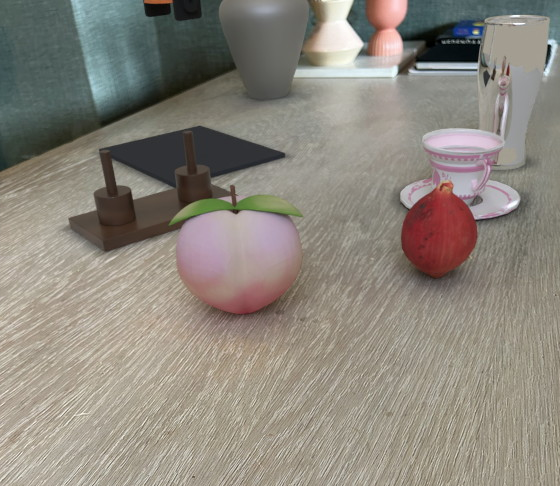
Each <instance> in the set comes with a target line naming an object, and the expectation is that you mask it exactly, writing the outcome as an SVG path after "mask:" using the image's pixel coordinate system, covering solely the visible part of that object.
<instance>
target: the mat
mask: <svg viewBox="0 0 560 486" xmlns="http://www.w3.org/2000/svg"><path fill="white" fill-rule="evenodd" d="M184 131H192V132H193V140H194V148H195V157H196V165H205V166H207V167H209V168H210V176H211V179H212V178H216V177H219V176H223V175H227V174H230V173H234V172H238V171H240V170H245V169H248V168H249V169H250V168H252V167H256V166H259V165H262V164H267V163H270V162H273V161H276V160H281V159H284V158H286V153H285V152H283V151H280V150H277V149H273V148H271V147H267V146H264V145H262V144H258V143H255V142H252V141H249V140H246V139H244V138H239V137H237V136H234V135H230V134H228V133H223V132H221V131H219V130H215V129H212V128H209V127H207V126H203V125H196V126H191V127H187V128H184V129H178V130H174V131H170V132H166V133H161V134H158V135H153V136H148V137H145V138H140V139H135V140H132V141H127V142H123V143H118V144H114V145H110V146H106V147H102V148H101V147H100V148H99V149H98V152H100V151H102V150H110V153H111V158H112V160H114V161H116V162H118V163H120V164H122V165H124V166H126V167H129V168H131V169H133V170H135V171H137V172H140V173H142V174H144V175H146V176H147V177H150V178H153V179H155V180H157V181H159V182H161V183H164V184H165V185H168V186H169V187H173V188H177V186H176V179H175V170H176V169H178V168H180V167H183V166H187V164H186V157H185V149H184V141H183V132H184Z"/></svg>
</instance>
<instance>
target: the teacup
mask: <svg viewBox="0 0 560 486" xmlns="http://www.w3.org/2000/svg"><path fill="white" fill-rule="evenodd" d="M504 144H505V140H504V139H503V138H502V137H501V136H499V135H497V134H494V133H491V132H487V131H482V130H478V129H477V128H476V129H475V128H466V127H465V128H463V127H457V128H453V127H451V128H441V129H435V130H432V131H429V132H427V133H425V134H424V135H423V136H422V138H421V145H422V148H423V150H424V152H425V153H426V154H427V155H428V161H429V163H430V165H431V167H432V175H431V177H429V178H424V179H420V180H416V181H415V182H412V183H410V184H408V185H406V186H405V187H404V188H403V189H402V190H401V191H400V193H399V200H400V203H402V204H403V205H404V207H405V208H406V209H409V210H410V208H411V207H412V206H413V205H414V204H415V203H416V202H417V201H418V200H419V199H421V198H422V197H424V196H425V195H427V194H428V193H430V192H431V191H433V190H434V189H435V188H436V187H437V186H438V184H439V183H441V182H442V181H444V180H450V181H451V182H452V183H453V185H454V187H453V189H452V191H453V193H454V194H455V195H456V196H458V197H459V198H460V199H462V200H463V201H464V202H465V203H466V204H467V206H468V207H469V208H470V210H471V212H472V214H473V216H474V219H475V221H476V220H483V219H484V220H485V219H493V218H496V217H500V216H503V215H507V214H509V213H511V212H513V211H514V210H516V209H517V208H518V207H519V205H520V203H521V200H522V199H521V196H520V194H519V192H518V191H517V190H516V189H515V188H513V187H511V186H510V185H508V184H505V183H502V182H499V181H498V180H492V179H490V176H491V174H492V170H491V164H493V163H494V160H493V157H494V156H495V155H497V154H498V153H499V152H500V151H501V150H502V148H503V146H504ZM476 197H479V198H480V199H481V203H479V204H476V205H473V206H469V205H470V204H472V203H473V201H474V200H475V198H476Z"/></svg>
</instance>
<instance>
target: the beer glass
mask: <svg viewBox="0 0 560 486" xmlns="http://www.w3.org/2000/svg"><path fill="white" fill-rule="evenodd" d="M550 22H551V18H550V17H549V16H544V15H537V14H536V15H535V14H507V15H506V14H505V15H497V16H490V17H486V18H485V19H484V24H483V28H482V29H483V30H482V34H481V39H480V46H479V52H478V59H477V68H476V69H477V71H476V95H477V112H478V115H477V116H478V127H477V128H478V129H477V130H482V131H487V132H491V133H494V134H497V135H499V136H501V137H502V138H503V139H504V140H505V144H504V146H503V148H502V150H501V151H500V152H499V153H498V154H497V155H495V156H494V157H493V160H494V163H493V164H491V171H511V170H515V169H519V168H522V167H523V166H525V164H526V161H527V160H526V159H527V157H526V156H527V153H526V137H527V129H528V125H529V121H530V118H531V116H532V112H533V109H534V106H535V103H536V101H537V97H538V94H539V90H540V87H541V83H542V81H543V76H544V71H545V67H546V60H547V54H548V43H549V32H550Z"/></svg>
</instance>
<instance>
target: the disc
mask: <svg viewBox="0 0 560 486" xmlns="http://www.w3.org/2000/svg"><path fill="white" fill-rule="evenodd" d="M144 3H149V4H166V3H170V4H173V1H172V0H144ZM144 3H143V4H144Z"/></svg>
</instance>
